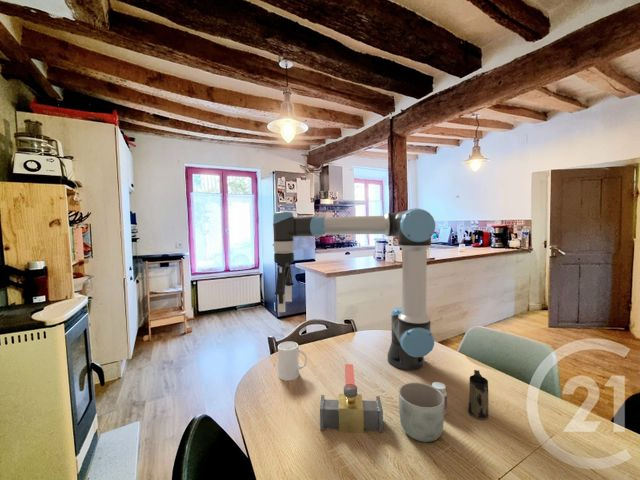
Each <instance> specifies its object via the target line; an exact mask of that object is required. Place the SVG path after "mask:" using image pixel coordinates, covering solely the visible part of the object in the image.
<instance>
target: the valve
mask: <svg viewBox="0 0 640 480" xmlns="http://www.w3.org/2000/svg"><path fill="white" fill-rule="evenodd" d="M362 395H363V394H361V393H357V396H356V397H353V398H349V397H346V396H345V395H344V393H338V399H327V398H326V399H325V397H326V396H325V394H321V395H320V402H319V403H320V405H319V431H321V432H323V431H324V430H325V429H337V430H338V432H340V433H360V434H361V433H362V434H363V433H364V430H365V431H370V430H371V431H378V432H379V433H381V434H383V433H384V409H383V405H382V400H381V398H380V396H377V395H376V396H375V397H376V398H375V400H363V396H362Z"/></svg>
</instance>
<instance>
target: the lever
mask: <svg viewBox="0 0 640 480" xmlns="http://www.w3.org/2000/svg"><path fill="white" fill-rule="evenodd" d="M354 373H355V372H354V364H351V363H350V364H349V363H347V364H345V363H344V377H345V378H344V379H345V380H344V382H345V384H344V385H343V394H344V395H345V396H346V397H349V398H353V397H356V396H357V394H358V387H357V385H356V382H355V374H354Z"/></svg>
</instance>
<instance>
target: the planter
mask: <svg viewBox="0 0 640 480" xmlns="http://www.w3.org/2000/svg"><path fill="white" fill-rule="evenodd" d="M444 406H445V398H444V396H443V394H442V393H441V392H440V391H439V390H438V389H436V388H435V387H433V386H432V385H430V384H427V383H423V382H415V381H414V382H406V383H404V384H402V385H401V386H400V387H399V389H398V407H399V408H398V409H399V411H398V413H399V420H400V425H401V427H402V429H403V431H404V433H406V435H408V436H409V437H410V438H412V439H414V440H415V441H419V442H423V443H430V442H434V441H436V440H437V439H439V438H440V437H441V435H442V433H443V430H444V429H443V428H444V423H445V422H444V420H445V415H444Z"/></svg>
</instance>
